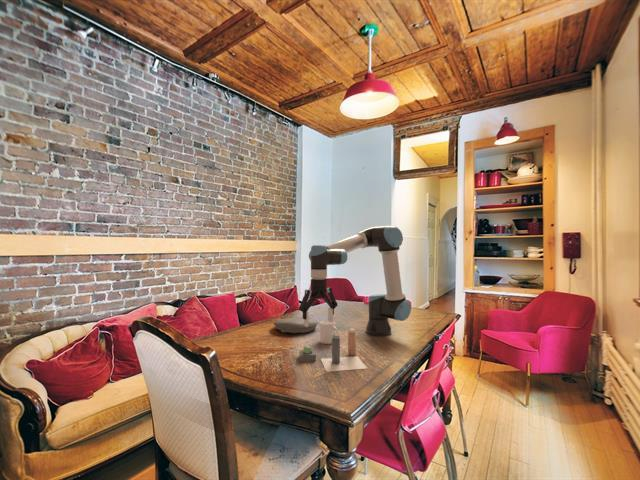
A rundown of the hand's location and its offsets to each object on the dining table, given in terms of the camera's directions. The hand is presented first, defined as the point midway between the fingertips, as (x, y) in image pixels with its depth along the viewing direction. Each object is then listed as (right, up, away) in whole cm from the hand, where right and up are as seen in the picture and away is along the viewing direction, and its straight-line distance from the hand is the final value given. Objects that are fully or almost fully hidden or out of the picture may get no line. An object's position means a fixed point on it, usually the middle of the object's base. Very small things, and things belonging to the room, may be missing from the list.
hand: (318, 324), depth 140 cm
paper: (+11, -17, -4) cm, 21 cm away
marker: (+8, -17, -3) cm, 19 cm away
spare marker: (+16, -17, +7) cm, 25 cm away
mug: (+6, -18, +26) cm, 32 cm away
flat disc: (-15, -18, +52) cm, 57 cm away
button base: (-5, -17, +3) cm, 18 cm away
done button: (-5, -16, +3) cm, 17 cm away
